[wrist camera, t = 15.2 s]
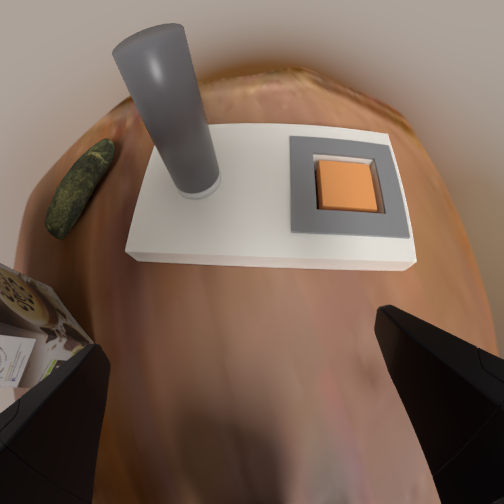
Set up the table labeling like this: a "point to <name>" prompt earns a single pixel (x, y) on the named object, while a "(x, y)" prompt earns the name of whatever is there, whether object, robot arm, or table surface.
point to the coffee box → (33, 330)
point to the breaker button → (345, 187)
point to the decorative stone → (78, 188)
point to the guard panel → (276, 205)
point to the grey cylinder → (171, 105)
